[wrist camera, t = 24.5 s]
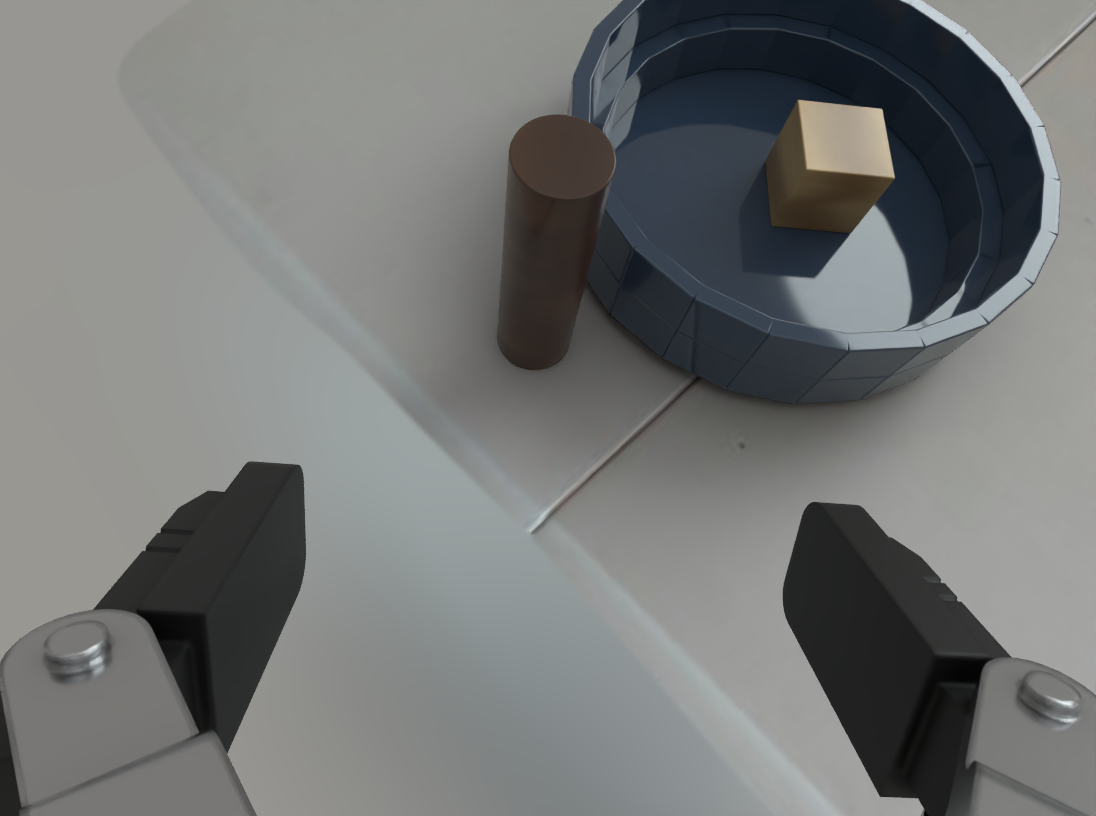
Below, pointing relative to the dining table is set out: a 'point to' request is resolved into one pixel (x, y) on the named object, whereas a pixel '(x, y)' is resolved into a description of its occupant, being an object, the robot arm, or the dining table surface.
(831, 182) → the block
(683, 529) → the dining table surface
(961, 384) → the dining table surface
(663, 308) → the bowl
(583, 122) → the brown cylinder
